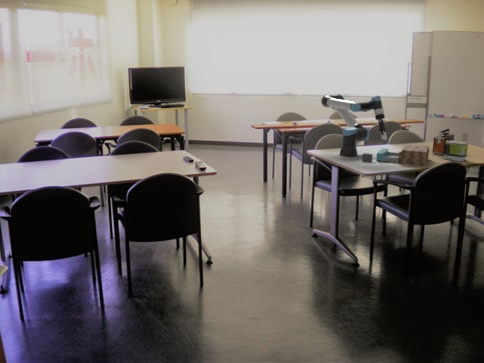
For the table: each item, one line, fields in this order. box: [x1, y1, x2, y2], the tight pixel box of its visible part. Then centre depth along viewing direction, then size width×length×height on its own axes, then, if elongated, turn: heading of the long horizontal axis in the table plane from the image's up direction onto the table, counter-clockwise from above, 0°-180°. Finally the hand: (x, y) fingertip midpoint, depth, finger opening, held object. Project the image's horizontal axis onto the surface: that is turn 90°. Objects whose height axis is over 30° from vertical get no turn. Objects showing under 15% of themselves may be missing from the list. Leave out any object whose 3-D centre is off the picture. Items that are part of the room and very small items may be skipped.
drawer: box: [375, 147, 399, 163], centre depth 410 cm, size 23×24×6 cm
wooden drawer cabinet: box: [397, 144, 430, 167], centre depth 403 cm, size 20×28×11 cm
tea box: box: [443, 140, 469, 162], centre depth 411 cm, size 15×10×15 cm, turn 42°
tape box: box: [361, 152, 374, 163], centre depth 404 cm, size 7×5×6 cm
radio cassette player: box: [432, 128, 455, 156], centre depth 442 cm, size 29×10×20 cm, turn 143°
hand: (384, 139), depth 412 cm, fingers open, 13 cm apart
